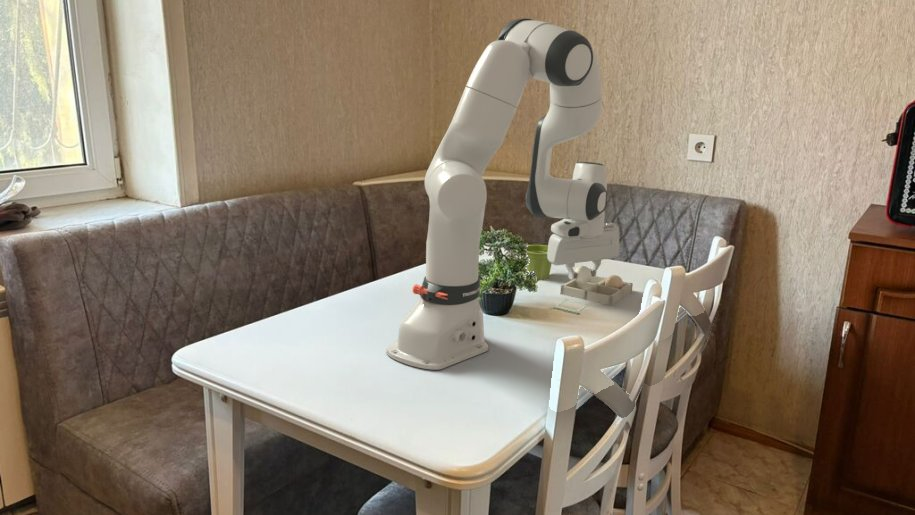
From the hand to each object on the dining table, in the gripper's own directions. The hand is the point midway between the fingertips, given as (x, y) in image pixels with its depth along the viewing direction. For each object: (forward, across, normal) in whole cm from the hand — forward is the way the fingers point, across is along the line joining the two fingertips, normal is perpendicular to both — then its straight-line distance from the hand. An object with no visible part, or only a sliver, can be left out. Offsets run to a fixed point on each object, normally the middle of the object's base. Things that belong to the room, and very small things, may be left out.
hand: (582, 277), depth 177 cm
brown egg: (+4, -9, +2) cm, 10 cm away
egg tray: (+5, -4, +1) cm, 7 cm away
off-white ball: (+2, 0, 0) cm, 2 cm away
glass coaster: (+5, +8, +7) cm, 11 cm away
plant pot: (+5, +3, -17) cm, 18 cm away
